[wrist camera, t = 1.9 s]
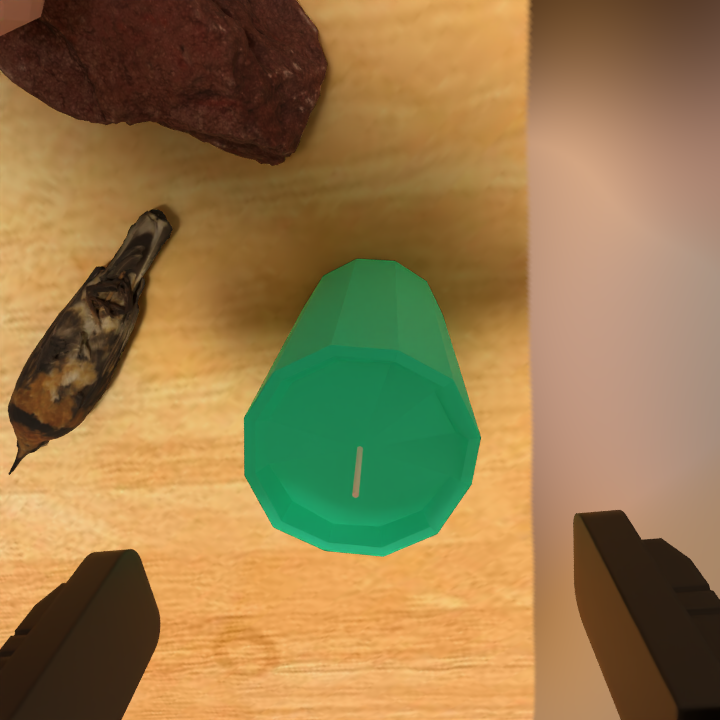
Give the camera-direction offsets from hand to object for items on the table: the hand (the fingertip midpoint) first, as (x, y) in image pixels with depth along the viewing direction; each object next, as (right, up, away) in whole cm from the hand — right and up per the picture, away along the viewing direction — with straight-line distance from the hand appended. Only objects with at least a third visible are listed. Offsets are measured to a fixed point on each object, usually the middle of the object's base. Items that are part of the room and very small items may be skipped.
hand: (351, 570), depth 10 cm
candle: (+1, +5, +13) cm, 15 cm away
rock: (-8, +18, +7) cm, 21 cm away
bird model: (-11, +5, +14) cm, 19 cm away
